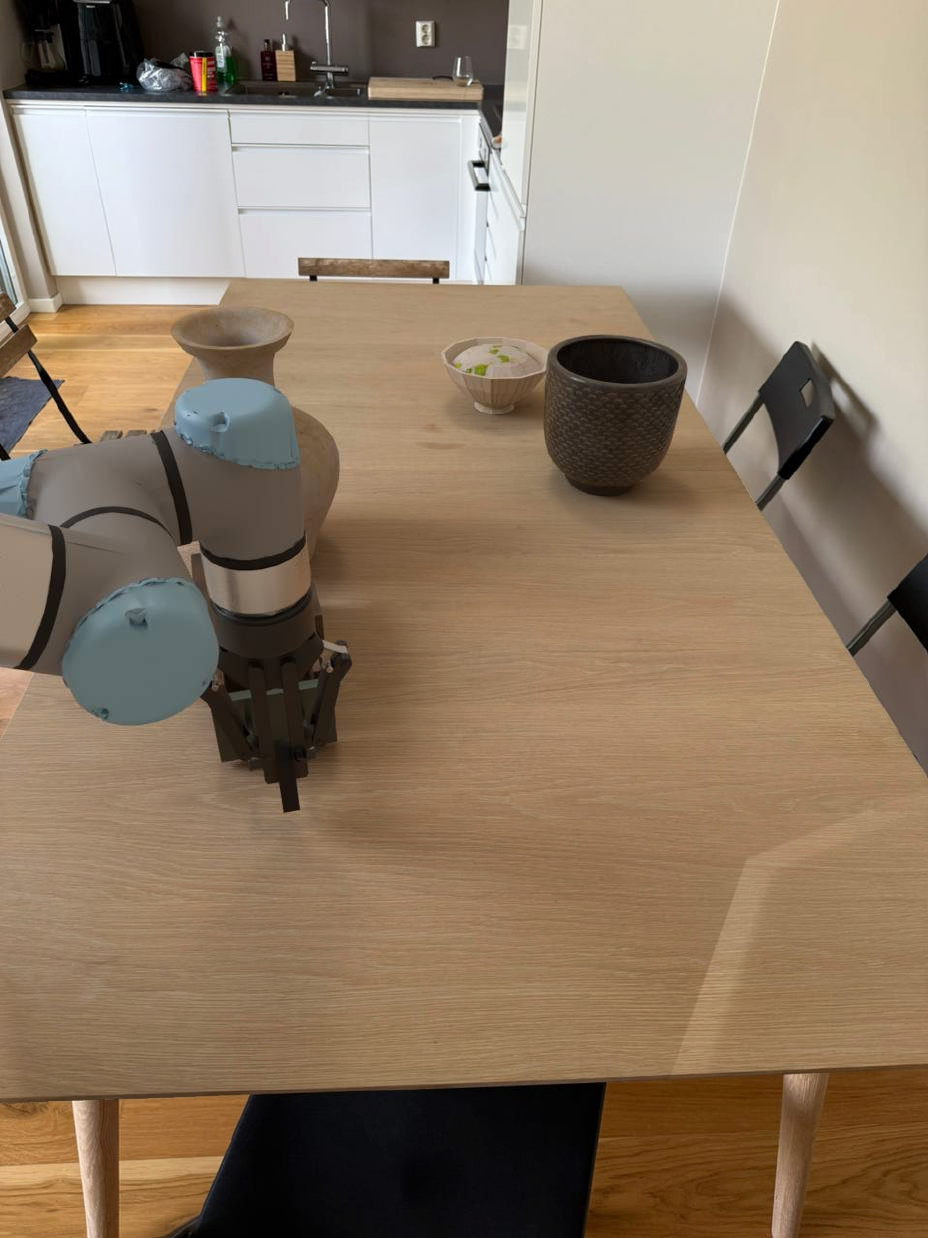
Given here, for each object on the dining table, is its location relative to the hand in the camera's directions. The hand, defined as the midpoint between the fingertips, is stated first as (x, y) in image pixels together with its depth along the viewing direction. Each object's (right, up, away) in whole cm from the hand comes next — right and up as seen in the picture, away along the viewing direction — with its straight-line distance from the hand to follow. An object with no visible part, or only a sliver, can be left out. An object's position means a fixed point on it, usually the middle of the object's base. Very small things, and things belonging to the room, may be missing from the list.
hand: (290, 800), depth 81 cm
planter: (+37, +38, +56) cm, 77 cm away
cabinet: (-7, +13, +21) cm, 26 cm away
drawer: (-3, +5, +10) cm, 12 cm away
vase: (-11, +25, +37) cm, 47 cm away
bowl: (+21, +54, +76) cm, 95 cm away
